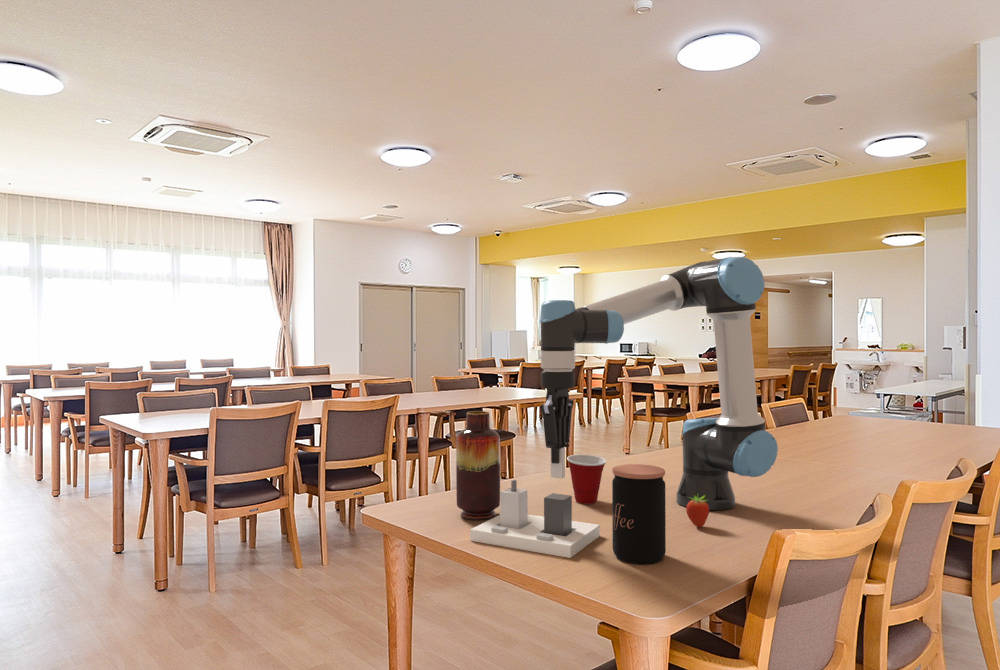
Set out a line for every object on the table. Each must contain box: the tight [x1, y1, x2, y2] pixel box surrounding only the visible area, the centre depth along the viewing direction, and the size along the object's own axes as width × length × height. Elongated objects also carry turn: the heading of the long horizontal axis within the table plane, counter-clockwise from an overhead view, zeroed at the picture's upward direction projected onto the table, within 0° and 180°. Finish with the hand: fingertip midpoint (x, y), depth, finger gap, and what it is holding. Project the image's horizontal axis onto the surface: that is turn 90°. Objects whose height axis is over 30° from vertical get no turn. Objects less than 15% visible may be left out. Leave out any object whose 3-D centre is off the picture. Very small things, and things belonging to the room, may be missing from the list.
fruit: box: [685, 493, 710, 528], centre depth 156 cm, size 5×5×8 cm
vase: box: [455, 410, 501, 521], centre depth 167 cm, size 11×11×26 cm
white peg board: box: [469, 479, 601, 559], centre depth 148 cm, size 24×17×12 cm
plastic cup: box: [566, 453, 607, 505], centre depth 181 cm, size 11×11×12 cm
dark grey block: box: [543, 492, 573, 536], centre depth 146 cm, size 5×5×10 cm
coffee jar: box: [611, 463, 667, 565], centre depth 136 cm, size 11×11×18 cm
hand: (557, 477), depth 146 cm, fingers closed
